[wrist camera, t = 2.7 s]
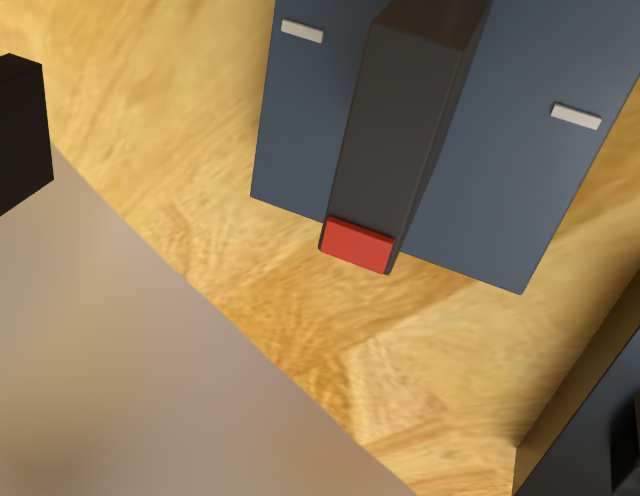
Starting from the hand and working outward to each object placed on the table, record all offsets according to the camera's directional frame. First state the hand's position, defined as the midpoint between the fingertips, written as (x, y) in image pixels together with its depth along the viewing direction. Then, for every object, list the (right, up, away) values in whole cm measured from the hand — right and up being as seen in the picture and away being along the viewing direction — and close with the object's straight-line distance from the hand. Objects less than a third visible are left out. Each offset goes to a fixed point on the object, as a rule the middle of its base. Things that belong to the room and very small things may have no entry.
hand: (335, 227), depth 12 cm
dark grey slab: (+3, +5, +7) cm, 9 cm away
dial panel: (+4, +7, +9) cm, 12 cm away
